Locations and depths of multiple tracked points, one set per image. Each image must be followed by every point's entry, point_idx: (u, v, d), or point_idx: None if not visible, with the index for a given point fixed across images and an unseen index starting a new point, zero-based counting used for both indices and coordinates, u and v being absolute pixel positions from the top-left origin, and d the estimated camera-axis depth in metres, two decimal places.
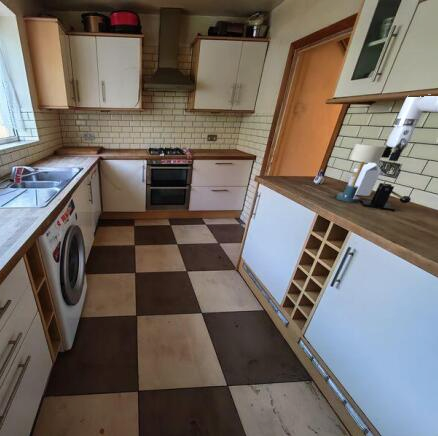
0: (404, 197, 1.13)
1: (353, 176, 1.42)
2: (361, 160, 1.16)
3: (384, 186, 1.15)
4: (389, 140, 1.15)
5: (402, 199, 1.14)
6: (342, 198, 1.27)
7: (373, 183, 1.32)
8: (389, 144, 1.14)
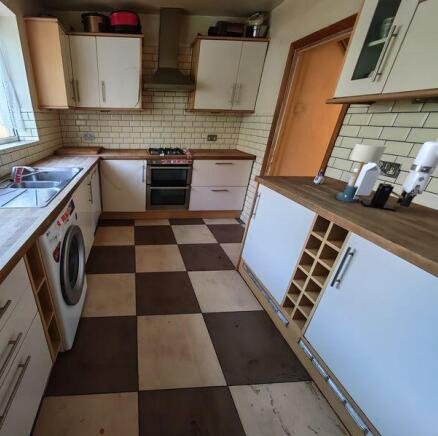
0: (404, 197, 1.13)
1: (353, 176, 1.42)
2: (361, 160, 1.16)
3: (384, 186, 1.15)
4: (405, 184, 1.13)
5: (402, 199, 1.14)
6: (342, 198, 1.27)
7: (373, 183, 1.32)
8: (404, 188, 1.13)
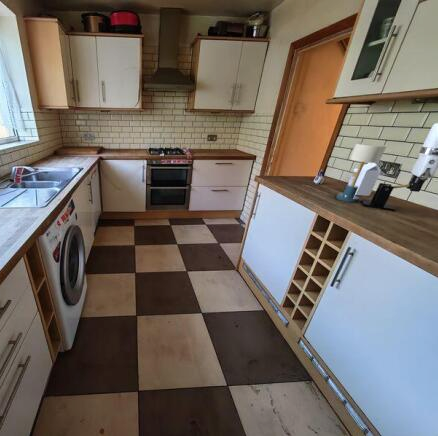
0: (411, 184, 1.11)
1: (353, 176, 1.42)
2: (361, 160, 1.16)
3: (384, 186, 1.15)
4: (414, 168, 1.10)
5: (411, 186, 1.11)
6: (342, 198, 1.27)
7: (373, 183, 1.32)
8: (414, 173, 1.09)
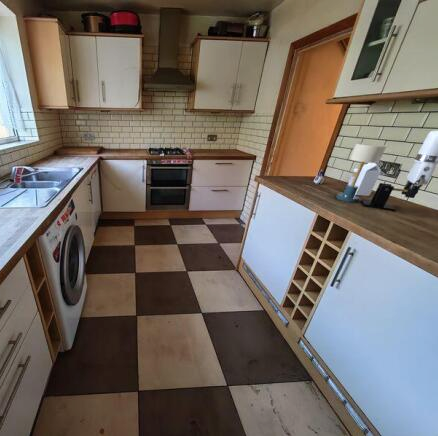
0: None
1: (353, 176, 1.42)
2: (361, 160, 1.16)
3: (384, 186, 1.15)
4: (409, 174, 1.11)
5: None
6: (342, 198, 1.27)
7: (373, 183, 1.32)
8: (409, 179, 1.11)
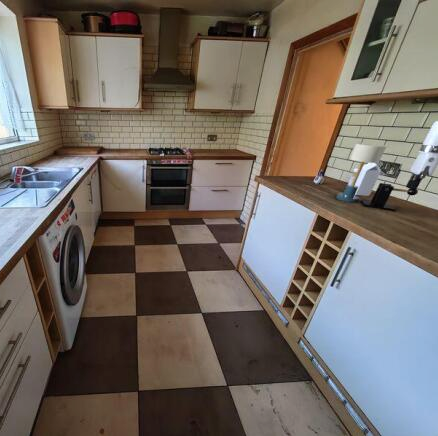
0: (409, 190, 1.12)
1: (353, 176, 1.42)
2: (361, 160, 1.16)
3: (384, 186, 1.15)
4: (413, 166, 1.10)
5: (409, 192, 1.12)
6: (342, 198, 1.27)
7: (373, 183, 1.32)
8: (413, 171, 1.09)
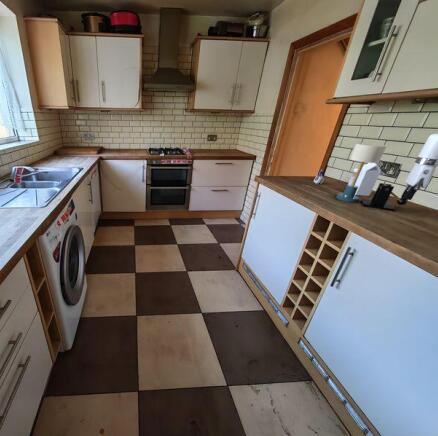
0: (401, 199, 1.14)
1: (353, 176, 1.42)
2: (361, 160, 1.16)
3: (384, 186, 1.15)
4: (409, 177, 1.12)
5: (399, 201, 1.15)
6: (342, 198, 1.27)
7: (373, 183, 1.32)
8: (408, 182, 1.11)
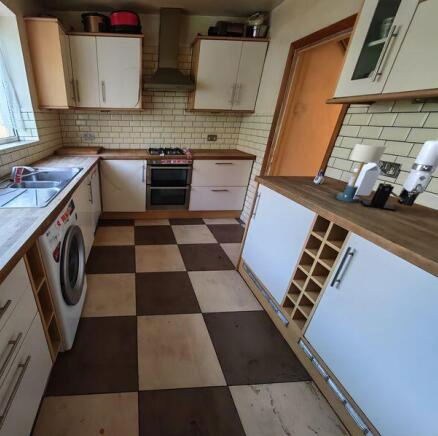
0: (402, 198, 1.14)
1: (353, 176, 1.42)
2: (361, 160, 1.16)
3: (384, 186, 1.15)
4: (406, 183, 1.13)
5: (400, 200, 1.14)
6: (342, 198, 1.27)
7: (373, 183, 1.32)
8: (406, 187, 1.12)
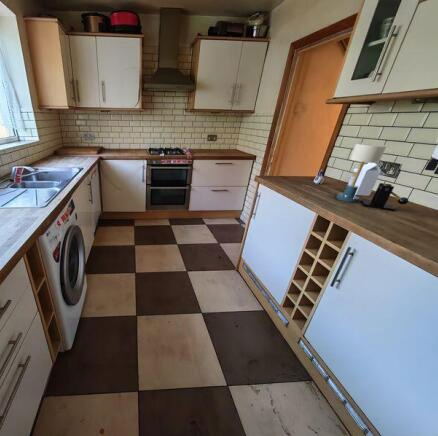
0: (402, 198, 1.14)
1: (353, 176, 1.42)
2: (361, 160, 1.16)
3: (384, 186, 1.15)
4: (435, 151, 1.05)
5: (400, 200, 1.14)
6: (342, 198, 1.27)
7: (373, 183, 1.32)
8: (435, 156, 1.04)
